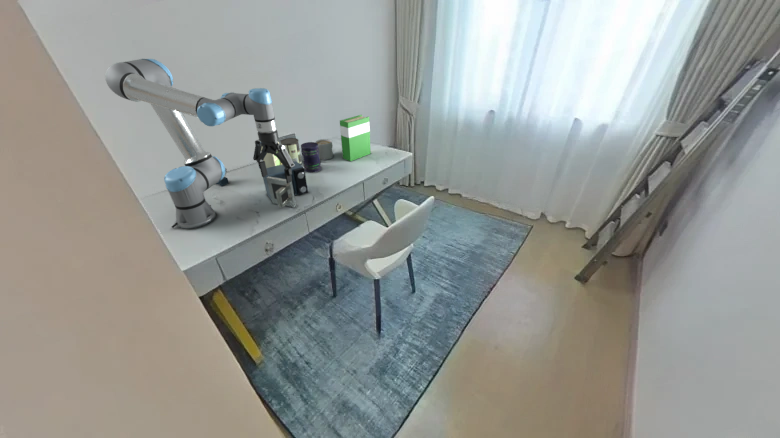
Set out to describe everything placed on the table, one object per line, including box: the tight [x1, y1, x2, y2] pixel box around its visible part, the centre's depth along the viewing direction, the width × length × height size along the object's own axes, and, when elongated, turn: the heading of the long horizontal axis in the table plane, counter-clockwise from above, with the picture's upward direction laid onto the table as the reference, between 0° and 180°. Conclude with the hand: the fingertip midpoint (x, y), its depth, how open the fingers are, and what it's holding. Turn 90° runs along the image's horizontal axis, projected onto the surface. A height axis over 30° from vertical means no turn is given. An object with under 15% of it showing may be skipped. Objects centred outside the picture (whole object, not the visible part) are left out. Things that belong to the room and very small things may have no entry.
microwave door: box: [267, 176, 297, 209], centre depth 147 cm, size 8×13×14 cm, turn 71°
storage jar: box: [300, 141, 322, 174], centre depth 184 cm, size 10×10×15 cm
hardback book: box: [339, 114, 372, 162], centre depth 199 cm, size 18×7×24 cm, turn 138°
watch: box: [216, 167, 230, 187], centre depth 169 cm, size 6×8×11 cm
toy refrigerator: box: [261, 141, 282, 168], centre depth 170 cm, size 8×7×21 cm
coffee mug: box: [315, 138, 334, 161], centre depth 203 cm, size 13×10×10 cm
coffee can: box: [280, 137, 303, 165], centre depth 192 cm, size 10×10×14 cm
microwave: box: [262, 161, 309, 200], centre depth 159 cm, size 11×18×14 cm, turn 125°
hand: (277, 178), depth 137 cm, fingers open, 13 cm apart
